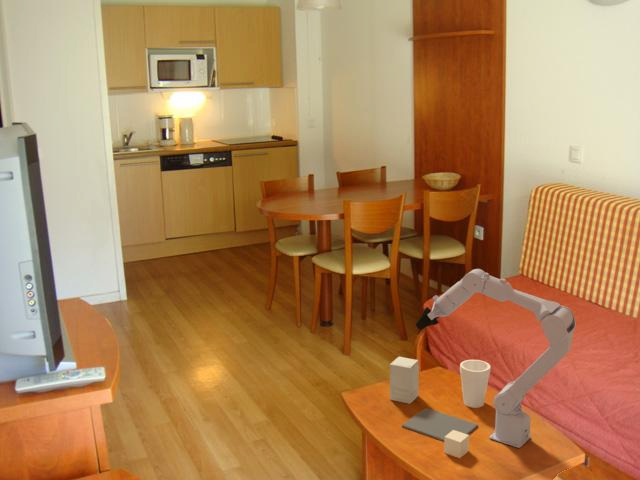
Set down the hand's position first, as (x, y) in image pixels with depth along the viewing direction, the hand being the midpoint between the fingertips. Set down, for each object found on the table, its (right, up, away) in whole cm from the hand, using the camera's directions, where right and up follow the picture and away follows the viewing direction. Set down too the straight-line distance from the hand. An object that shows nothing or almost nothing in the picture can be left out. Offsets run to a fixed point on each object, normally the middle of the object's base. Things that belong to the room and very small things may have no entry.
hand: (423, 322), depth 222 cm
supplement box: (-4, -27, +18) cm, 33 cm away
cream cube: (+7, -35, -15) cm, 39 cm away
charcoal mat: (+5, -31, -1) cm, 31 cm away
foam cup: (+18, -28, +14) cm, 36 cm away
